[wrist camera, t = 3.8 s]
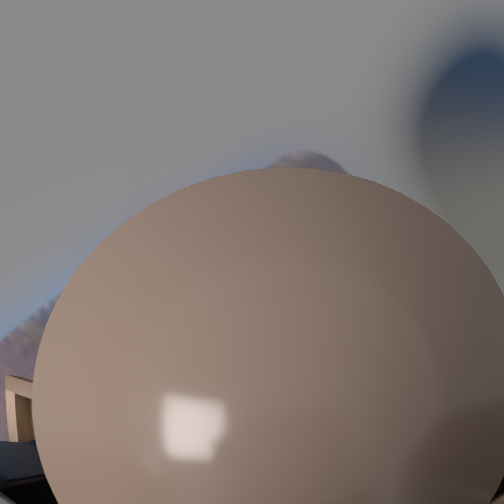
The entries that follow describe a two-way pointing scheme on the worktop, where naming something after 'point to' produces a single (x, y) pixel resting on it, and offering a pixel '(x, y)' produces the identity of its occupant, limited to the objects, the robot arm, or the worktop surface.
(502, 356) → the canister
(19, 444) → the robot arm
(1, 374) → the worktop surface
